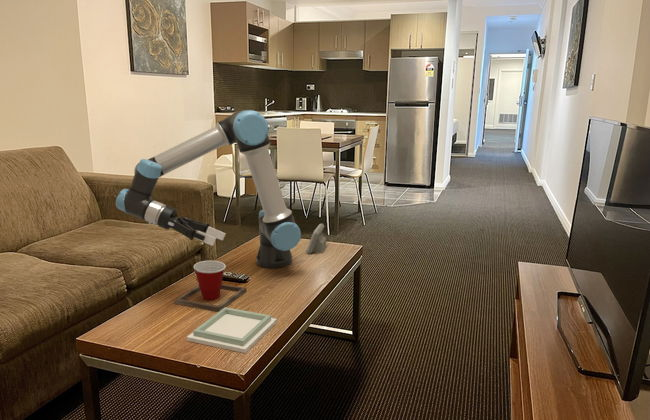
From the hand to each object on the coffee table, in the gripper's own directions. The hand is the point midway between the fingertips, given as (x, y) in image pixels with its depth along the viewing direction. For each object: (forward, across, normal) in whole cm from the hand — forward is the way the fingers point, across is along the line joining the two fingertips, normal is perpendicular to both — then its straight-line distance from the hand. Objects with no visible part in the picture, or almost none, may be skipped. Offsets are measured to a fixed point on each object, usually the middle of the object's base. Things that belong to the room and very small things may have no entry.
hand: (219, 239), depth 157 cm
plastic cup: (+5, -1, -20) cm, 21 cm away
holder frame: (+5, -1, -20) cm, 21 cm away
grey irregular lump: (+33, -54, +1) cm, 63 cm away
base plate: (+18, +22, -19) cm, 34 cm away
